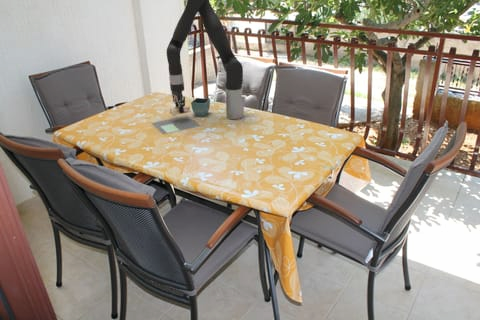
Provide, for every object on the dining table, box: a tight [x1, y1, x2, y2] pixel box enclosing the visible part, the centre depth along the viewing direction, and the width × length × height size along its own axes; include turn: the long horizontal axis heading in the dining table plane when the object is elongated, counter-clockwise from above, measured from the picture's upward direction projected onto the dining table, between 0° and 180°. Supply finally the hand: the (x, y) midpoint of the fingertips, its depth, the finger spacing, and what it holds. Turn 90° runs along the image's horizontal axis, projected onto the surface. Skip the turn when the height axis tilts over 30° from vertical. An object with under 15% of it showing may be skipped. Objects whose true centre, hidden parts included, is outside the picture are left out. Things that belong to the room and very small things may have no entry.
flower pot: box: [190, 97, 211, 117], centre depth 236 cm, size 9×9×9 cm
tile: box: [169, 104, 191, 117], centre depth 227 cm, size 10×5×3 cm, turn 120°
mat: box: [150, 115, 201, 135], centre depth 224 cm, size 22×19×1 cm
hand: (179, 111), depth 227 cm, fingers closed on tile, 5 cm apart
